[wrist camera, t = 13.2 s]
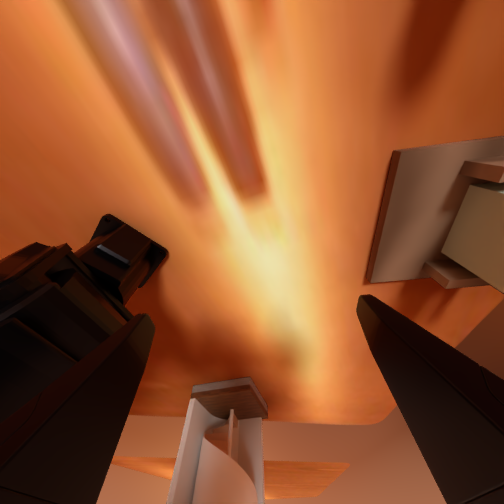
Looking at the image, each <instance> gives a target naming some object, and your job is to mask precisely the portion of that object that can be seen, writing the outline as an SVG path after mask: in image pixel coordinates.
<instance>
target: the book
mask: <svg viewBox="0 0 504 504" xmlns="http://www.w3.org/2000/svg"><path fill="white" fill-rule="evenodd" d="M441 252H442V253H443V254H445V255H446V256H448V257H449V258H451V259H452V260H454V261H455V262H457V263H459V264H460V265H462V266H463V267H465V268H466V269H468V270H469V271H471V272H472V273H474V274H475V275H477V276H478V277H480V278H481V279H483V280H484V281H486V282H487V283H489V284H490V285H492V286H494V287H495V288H497V289H498V290H500V291H501V292H503V293H504V182H502V183H497V182H490V183H482V184H474V185H470V186H469V188H468V191H467V193H466V195H465V197H464V200H463V202H462V204H461V207H460V209H459V211H458V214H457V216H456V218H455V221H454V223H453V225H452V228H451V230H450V232H449V234H448V237H447V239H446V241H445V244H444V246H443V248H442V251H441Z"/></svg>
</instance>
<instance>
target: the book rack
mask: <svg viewBox="0 0 504 504" xmlns="http://www.w3.org/2000/svg"><path fill="white" fill-rule="evenodd" d="M490 182H497V183H502V182H504V136H498V137H491V138H483V139H476V140H468V141H461V142H454V143H446V144H439V145H431V146H424V147H416V148H409V149H401V150H394V151H393V155H392V160H391V164H390V169H389V174H388V178H387V183H386V187H385V192H384V197H383V201H382V206H381V210H380V215H379V220H378V224H377V229H376V233H375V238H374V243H373V247H372V252H371V256H370V261H369V266H368V270H367V275H366V278H367V279H368V281H369V282H370V283H376V282H387V281H398V280H409V279H420V278H431V277H432V278H433V279H434V280H435V281H436V282H438V283H439V284H440V285H441V286H442V287H444V288H445V289H451V288H462V287H474V286H485V285H490V284H489V283H487V282H486V281H484V280H483V279H481V278H480V277H478V276H477V275H475V274H474V273H472V272H471V271H469V270H468V269H466V268H465V267H463V266H462V265H460V264H459V263H457V262H455V261H454V260H452V259H451V258H449V257H448V256H446V255H445V254H443V253H442V252H441V251H442V248H443V246H444V244H445V241H446V239H447V237H448V234H449V232H450V230H451V228H452V225H453V223H454V221H455V218H456V216H457V214H458V211H459V209H460V207H461V204H462V202H463V200H464V197H465V195H466V193H467V191H468V188H469V186H470V185H474V184H482V183H490ZM491 286H492V285H491ZM492 287H494V286H492ZM494 288H495V287H494ZM495 289H497V288H495ZM497 290H498V289H497ZM498 291H500V290H498ZM500 292H501V291H500ZM501 293H503V292H501ZM503 294H504V293H503Z"/></svg>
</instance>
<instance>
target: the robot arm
mask: <svg viewBox="0 0 504 504" xmlns="http://www.w3.org/2000/svg"><path fill="white" fill-rule="evenodd" d="M107 218H108V219H110V221H109V220H108V219H107ZM71 250H72V248H71V247H70V246H69V245H68V244H67V243H65V244H62V245H59V246H57V247H55V246H53V247H50V246H46V245H43V244H40V243H37V242H35V243H33V244H30V245H28V246H26V247H24V248H22V249H20V250H18V251H16V252H15V253H13V254H11V255H9V256H7V257H5V258H3V259H2V260H0V504H96V502H97V500H98V497H99V494H100V491H101V488H102V486H103V483H104V480H105V477H106V475H107V472H108V469H109V466H110V464H111V461H112V458H113V455H114V452H115V450H116V447H117V444H118V442H119V439H120V436H121V433H122V430H123V428H124V425H125V422H126V420H127V417H128V414H129V411H130V409H131V406H132V403H133V400H134V398H135V395H136V392H137V389H138V386H139V384H140V381H141V378H142V375H143V373H144V370H145V367H146V364H147V360H148V356H149V352H150V348H151V345H152V341H153V337H154V333H155V325H154V323H153V321H152V320H151V318H150V316H149V315H148V314H138V315H136V316H135V317H134V316H133V315H132V314H131V313H130V312H129V311H128V310H127V309H126V308H125V306H124V305H125V304H126V303H127V301H128V300H129V299H130V297H131V296H132V294H133V293H134V292H135V290H136V289H137V287H138V288H141V287H143V285H144V284H145V283H146V281H147V280H148V279H149V277H150V276H151V275H152V273H153V272H154V271H155V269H156V268H157V267H158V266H159V264H160V263H161V262H162V260H163V259H164V258H165V256H166V255H167V253H168V251H167V249H165V248H164V247H162V246H161V245H159V244H158V243H156V242H154V241H153V240H151V239H150V238H148V237H146V236H145V235H143V234H142V233H140V232H138V231H137V230H135V229H134V228H132V227H130V226H129V225H127V224H126V223H124V222H122V221H121V220H119V219H118V218H116V217H114V216H113V215H111V214H106V215H104V216H103V217H102V218H101V220H100V222H99V224H98V226H97V228H96V230H95V232H94V234H93V236H92V238H91V240H90V242H89V243H88V244H86V245H85V246H83V247H82V248H80V249H79V250H78V251H76V252H75V253H73V252H72V251H71ZM160 251H162V252H163V253H161V252H160ZM356 312H357V316H358V319H359V321H360V324H361V327H362V329H363V332H364V335H365V337H366V340H367V343H368V345H369V348H370V350H371V353H372V355H373V357H374V359H375V361H376V363H377V365H378V367H379V369H380V371H381V373H382V375H383V377H384V379H385V381H386V383H387V385H388V387H389V389H390V391H391V393H392V395H393V397H394V399H395V401H396V403H397V405H398V407H399V409H400V411H401V413H402V415H403V417H404V419H405V421H406V423H407V425H408V427H409V429H410V431H411V433H412V435H413V437H414V439H415V441H416V443H417V445H418V447H419V449H420V451H421V453H422V455H423V457H424V459H425V461H426V463H427V465H428V467H429V469H430V471H431V473H432V475H433V477H434V479H435V481H436V483H437V485H438V487H439V489H440V491H441V493H442V495H443V497H444V499H445V501H446V503H447V504H504V380H503V379H501V378H500V377H498V376H497V375H495V374H493V373H492V372H490V371H489V370H487V369H486V368H484V367H483V366H479V364H478V363H476V362H475V361H473V360H471V359H470V358H469V357H467V356H466V355H464V354H462V353H461V352H459V351H458V350H456V349H455V348H453V347H452V346H450V345H448V344H447V343H445V342H444V341H442V340H441V339H439V338H438V337H436V336H435V335H433V334H431V333H430V332H428V331H427V330H425V329H424V328H422V327H421V326H419V325H417V324H416V323H414V322H413V321H411V320H410V319H408V318H407V317H405V316H404V315H402V314H400V313H399V312H397V311H396V310H394V309H393V308H391V307H390V306H388V305H386V304H385V303H383V302H382V301H380V300H379V299H377V298H376V297H374V296H372V295H370V294H368V295H360V296H359V299H358V303H357V308H356Z"/></svg>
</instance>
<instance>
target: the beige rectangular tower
mask: <svg viewBox="0 0 504 504" xmlns="http://www.w3.org/2000/svg"><path fill="white" fill-rule="evenodd" d="M266 418H268V409H267V404H266V403H265V401H264V399H263V398H262V396H261V394H260V393H259V391H258V389H257V388H256V386H255V384H254V383H253V381H252V379H251V378H250V377H245V378H239V379H233V380H226V381H220V382H214V383H208V384H201V385H195V386H193V390H192V394H191V398H190V403H189V407H188V411H187V415H186V420H185V424H184V428H183V433H182V437H181V442H180V446H179V450H178V454H177V459H176V463H175V467H174V472H173V476H172V480H171V485H170V489H169V493H168V498H167V502H166V504H265V495H264V463H263V435H262V434H263V432H262V419H266Z"/></svg>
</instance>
